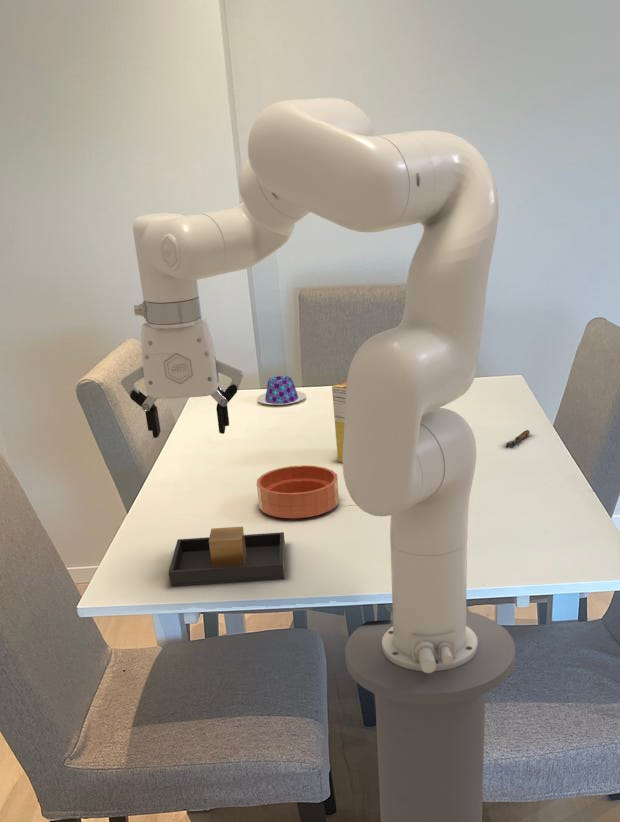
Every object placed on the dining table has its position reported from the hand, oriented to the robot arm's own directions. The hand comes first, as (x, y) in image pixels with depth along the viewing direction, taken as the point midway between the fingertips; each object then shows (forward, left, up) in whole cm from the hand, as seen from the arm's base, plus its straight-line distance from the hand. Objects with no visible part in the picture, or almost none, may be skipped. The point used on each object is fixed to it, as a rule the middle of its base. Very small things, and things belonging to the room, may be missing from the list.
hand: (189, 432), depth 136 cm
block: (-1, -4, -21) cm, 21 cm away
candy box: (+46, -27, -21) cm, 57 cm away
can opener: (+49, -60, -21) cm, 80 cm away
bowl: (+22, -15, -21) cm, 34 cm away
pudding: (+91, -11, -21) cm, 94 cm away
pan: (-1, -4, -21) cm, 21 cm away
